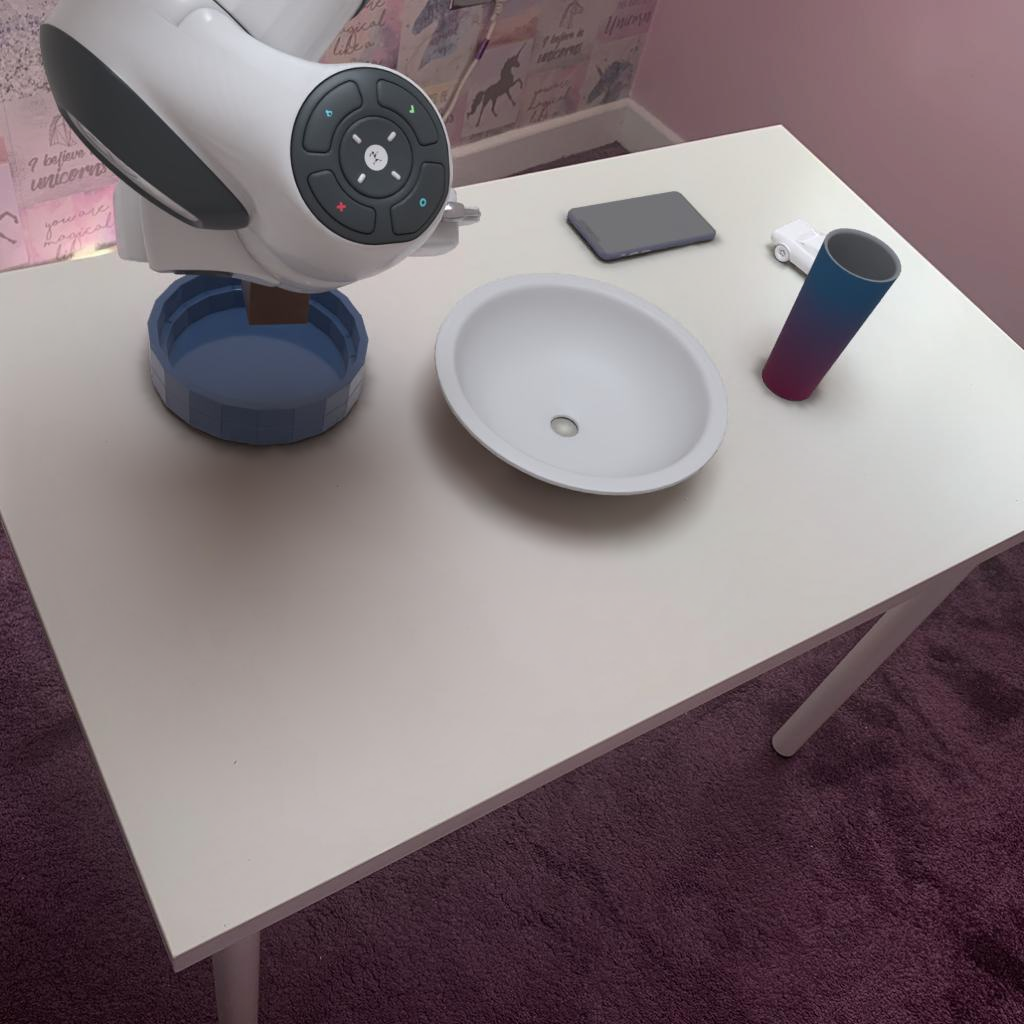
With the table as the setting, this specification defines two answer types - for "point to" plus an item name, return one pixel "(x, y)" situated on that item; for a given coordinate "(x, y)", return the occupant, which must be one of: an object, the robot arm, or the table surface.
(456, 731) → the table surface
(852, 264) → the cup
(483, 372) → the white sink basin
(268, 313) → the block
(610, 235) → the smartphone
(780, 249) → the toy car
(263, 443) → the bowl
